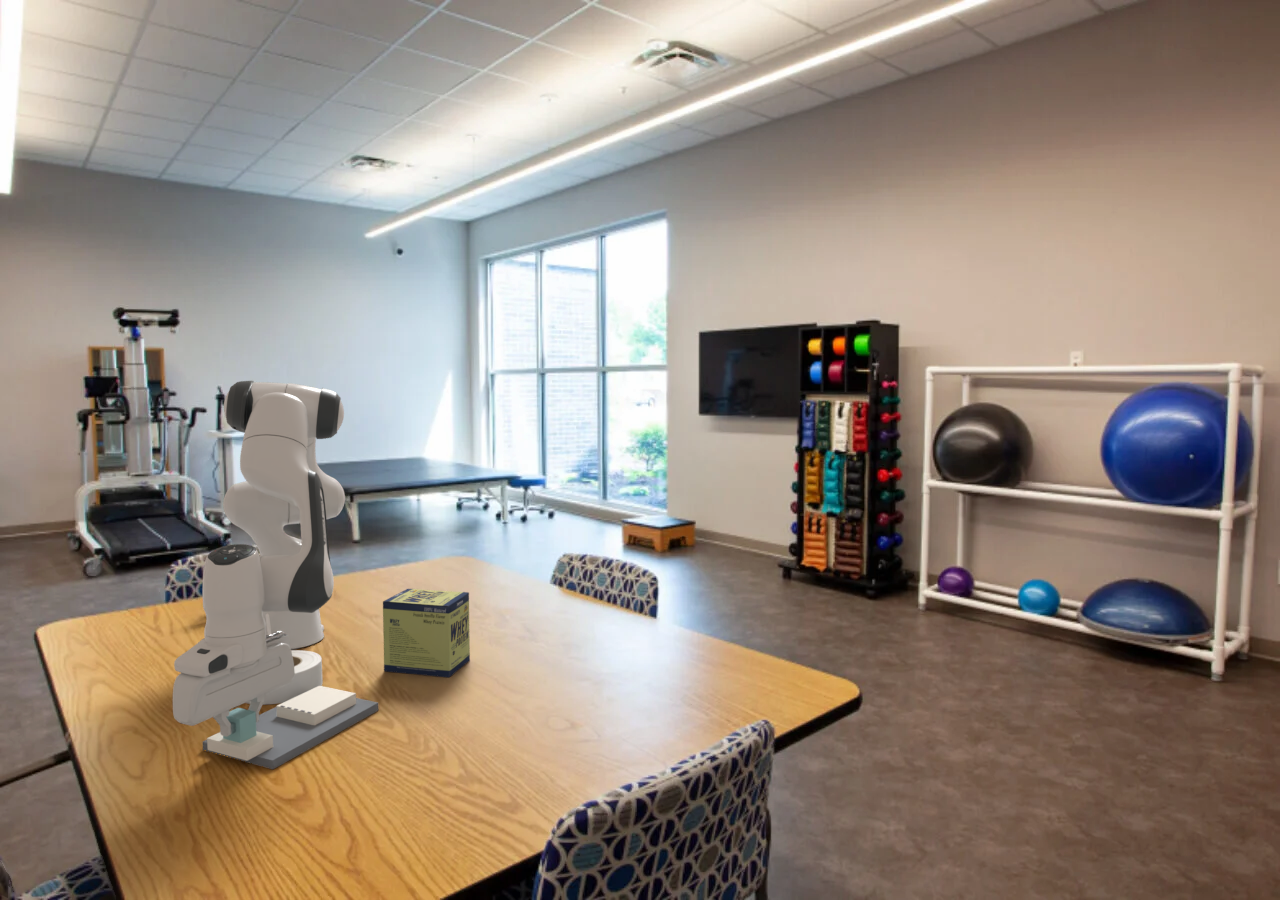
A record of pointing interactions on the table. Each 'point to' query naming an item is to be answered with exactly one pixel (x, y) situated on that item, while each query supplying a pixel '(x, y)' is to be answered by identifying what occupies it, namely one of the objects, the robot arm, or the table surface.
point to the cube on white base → (241, 737)
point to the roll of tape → (298, 678)
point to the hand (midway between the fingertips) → (240, 728)
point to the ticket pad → (316, 705)
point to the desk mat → (302, 732)
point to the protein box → (426, 632)
